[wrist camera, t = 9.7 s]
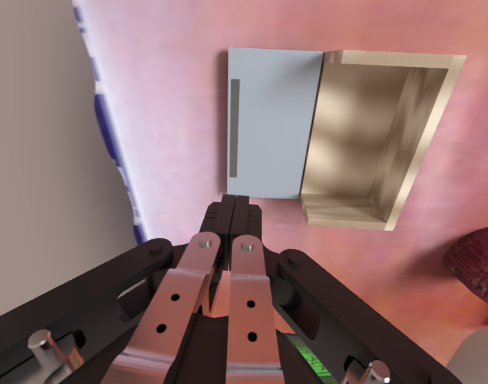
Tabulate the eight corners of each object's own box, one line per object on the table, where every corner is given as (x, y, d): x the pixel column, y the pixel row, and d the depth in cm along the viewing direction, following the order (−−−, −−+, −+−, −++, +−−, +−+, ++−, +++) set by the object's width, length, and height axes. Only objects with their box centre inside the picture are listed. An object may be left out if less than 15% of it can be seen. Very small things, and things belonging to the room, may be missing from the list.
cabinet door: (320, 52, 26) (229, 47, 26) (323, 51, 25) (228, 47, 25) (296, 194, 35) (227, 192, 35) (298, 199, 34) (226, 196, 34)
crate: (324, 52, 26) (343, 49, 20) (418, 56, 26) (467, 55, 20) (299, 195, 35) (307, 224, 29) (369, 200, 35) (392, 230, 28)
